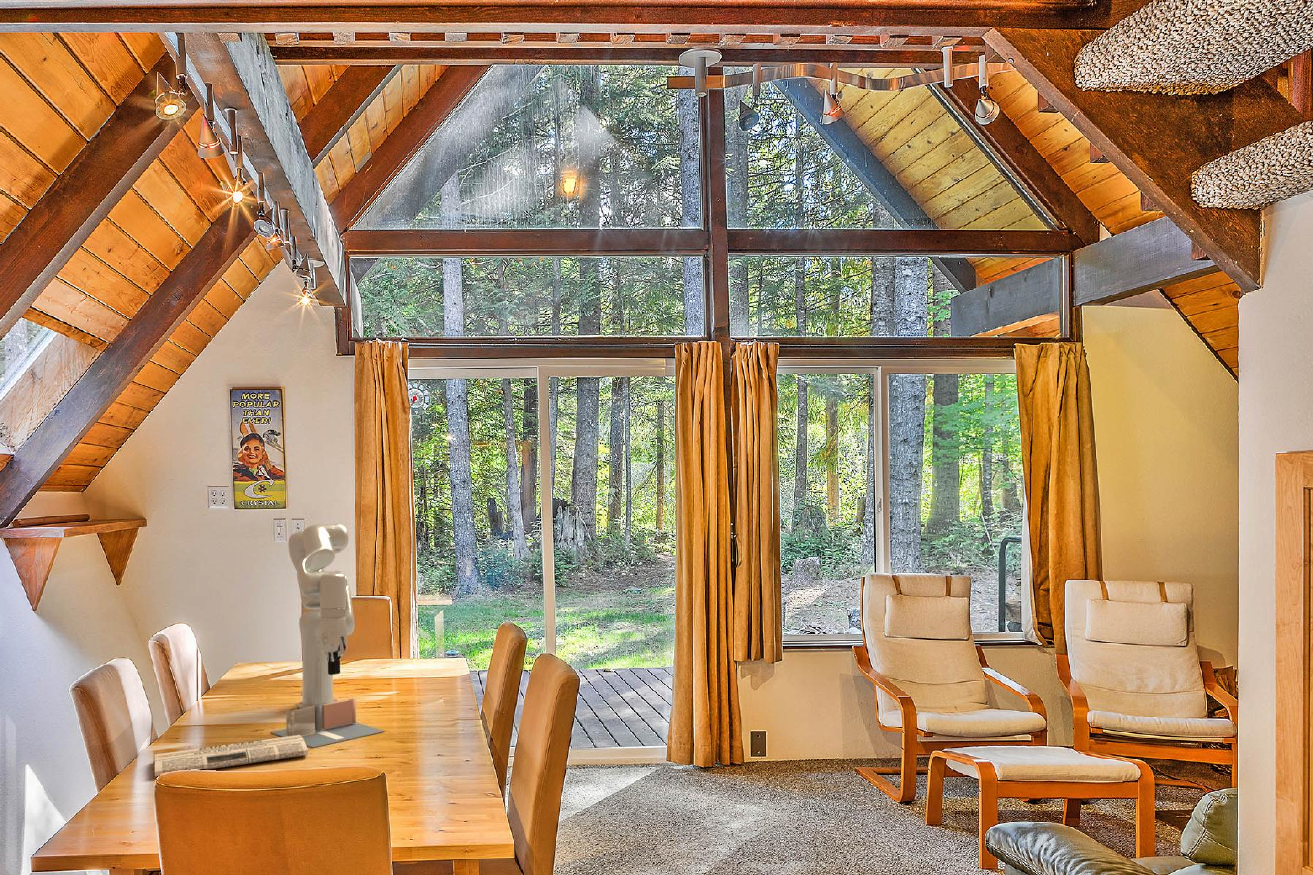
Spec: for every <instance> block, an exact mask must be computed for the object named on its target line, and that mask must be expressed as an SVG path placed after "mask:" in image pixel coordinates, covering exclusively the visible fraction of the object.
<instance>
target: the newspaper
mask: <svg viewBox="0 0 1313 875" xmlns="http://www.w3.org/2000/svg"><path fill="white" fill-rule="evenodd" d="M308 752H309V749H308V746H306V744H305V742H304V739H303V738H302V737H301V735H295V736H288V737H276V738H274V737H273V738H268V739H267V738H266V739H261V740H253V741H245V742H237V743H231V744H230V743H229V744H223V745H215V746H208V747H200V748H194V749H193V748H192V749H185V750H178V751H173V752H172V751H171V752H163V753H156V754H154V777H155V778H157V776H158V775H160V774H162V773H165V772H172V771H178V770H191V769H207V770H213V769H219V768H226V767H227V768H228V767H234V766H240V765H246V764H247V765H248V764H253V763H261V762H266V761H267V762H268V761H275V760H280V759H281V760H282V759H283V760H284V759H289V758H296V757H302V756H303V757H304V756H308V755H309V753H308ZM158 777H159V776H158Z"/></svg>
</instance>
